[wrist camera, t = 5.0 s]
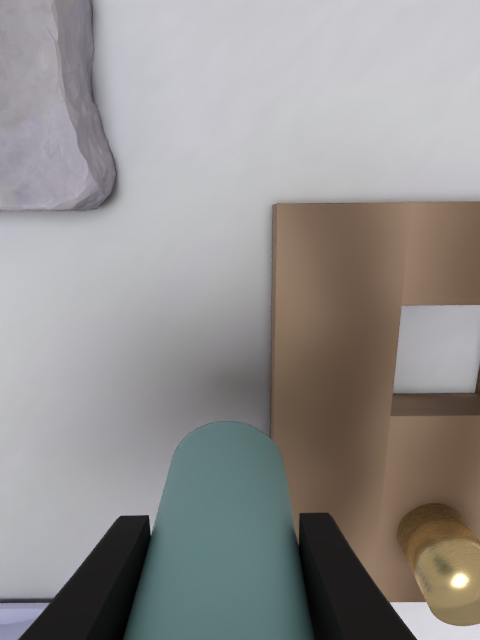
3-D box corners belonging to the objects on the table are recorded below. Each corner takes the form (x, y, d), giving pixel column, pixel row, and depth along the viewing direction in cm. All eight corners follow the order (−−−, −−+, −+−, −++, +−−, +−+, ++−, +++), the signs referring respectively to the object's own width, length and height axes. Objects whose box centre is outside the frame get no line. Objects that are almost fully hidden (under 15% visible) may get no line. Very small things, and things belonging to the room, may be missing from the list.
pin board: (268, 566, 20) (277, 675, 16) (272, 204, 16) (287, 201, 11) (538, 564, 20) (631, 672, 16) (624, 201, 16) (795, 196, 11)
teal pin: (174, 520, 12) (41, 1145, 4) (167, 422, 11) (-25, 975, 3) (284, 518, 12) (374, 1145, 4) (285, 420, 11) (403, 971, 3)
